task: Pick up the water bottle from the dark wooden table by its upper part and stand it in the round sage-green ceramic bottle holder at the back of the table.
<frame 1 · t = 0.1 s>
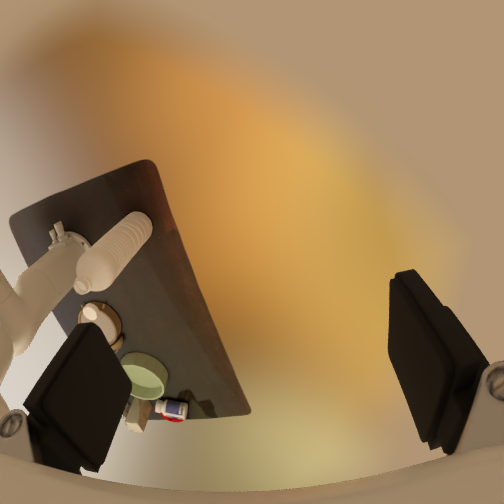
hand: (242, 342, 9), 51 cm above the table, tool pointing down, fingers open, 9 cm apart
pill bottle: (187, 411, 83), point 3 cm above the table
ornament: (185, 418, 88), on the table
holder: (144, 370, 80), on the table
box: (143, 400, 86), on the table
alarm clock: (104, 324, 74), on the table
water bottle: (140, 230, 63), on the table
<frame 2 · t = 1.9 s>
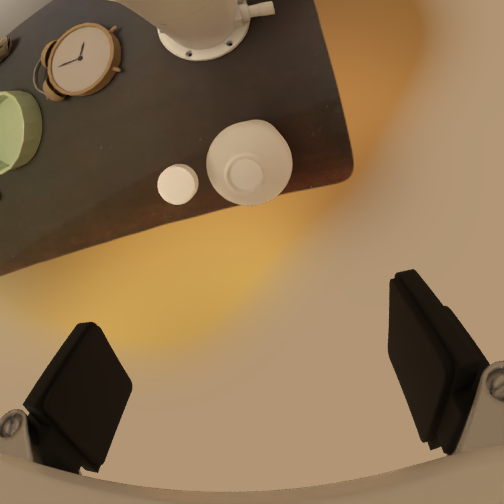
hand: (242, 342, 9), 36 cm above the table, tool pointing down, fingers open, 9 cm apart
holder: (15, 129, 40), on the table
alarm clock: (80, 64, 37), on the table
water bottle: (248, 143, 42), on the table
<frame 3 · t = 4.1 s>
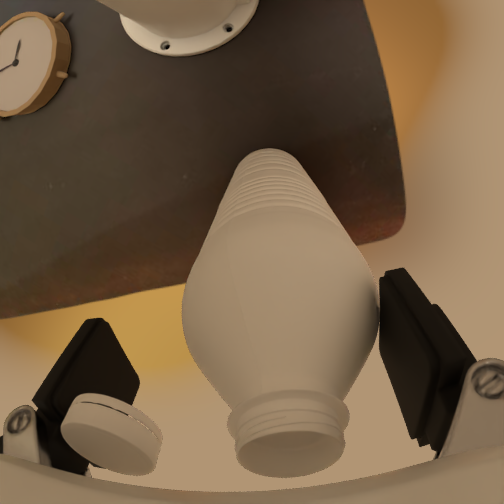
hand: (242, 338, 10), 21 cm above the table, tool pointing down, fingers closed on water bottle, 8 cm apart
alarm clock: (22, 70, 23), on the table
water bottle: (257, 184, 28), on the table, touching gripper
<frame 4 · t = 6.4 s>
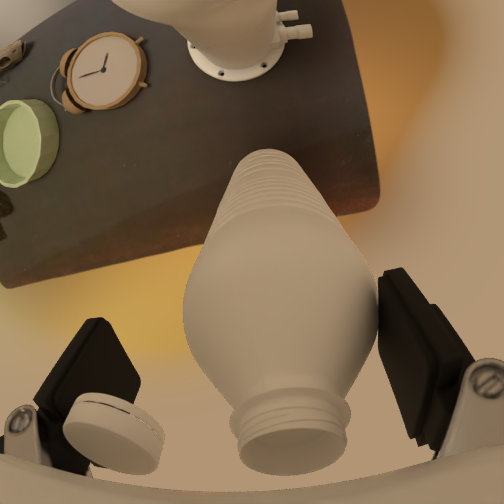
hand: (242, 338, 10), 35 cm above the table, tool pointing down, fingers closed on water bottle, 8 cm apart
holder: (29, 139, 40), on the table
alarm clock: (102, 75, 37), on the table
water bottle: (255, 184, 29), point 14 cm above the table, touching gripper
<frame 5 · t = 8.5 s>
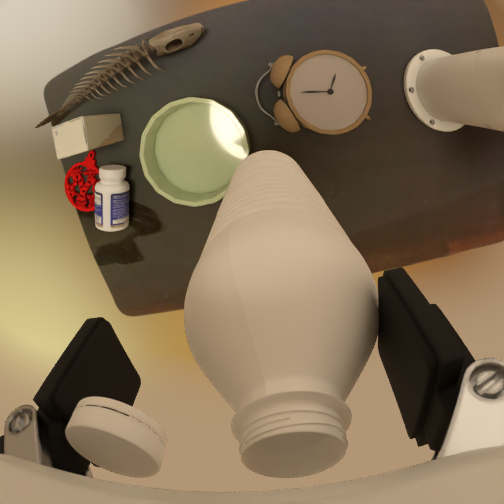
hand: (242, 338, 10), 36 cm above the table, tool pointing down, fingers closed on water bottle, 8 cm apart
pill bottle: (111, 226, 45), point 3 cm above the table
ornament: (80, 210, 46), on the table
holder: (199, 148, 42), on the table
fish skeleton: (120, 79, 38), on the table
box: (109, 129, 41), on the table
alarm clock: (311, 93, 38), on the table
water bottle: (256, 186, 29), point 15 cm above the table, touching gripper
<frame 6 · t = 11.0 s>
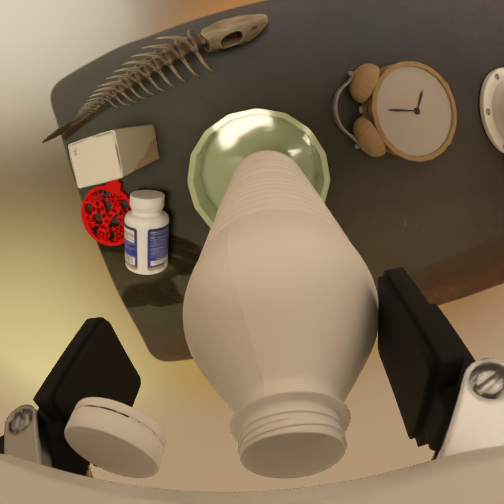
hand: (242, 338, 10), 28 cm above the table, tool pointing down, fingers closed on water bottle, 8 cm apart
pill bottle: (146, 266, 38), point 3 cm above the table
ornament: (102, 244, 39), on the table
holder: (259, 170, 35), on the table
fish skeleton: (153, 81, 31), on the table
box: (138, 145, 34), on the table
alarm clock: (390, 109, 31), on the table
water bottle: (255, 186, 29), point 7 cm above the table, touching gripper
when the fingers open (22 cm above the table, at t = 13.2 s): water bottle stays where it is, resting on holder.
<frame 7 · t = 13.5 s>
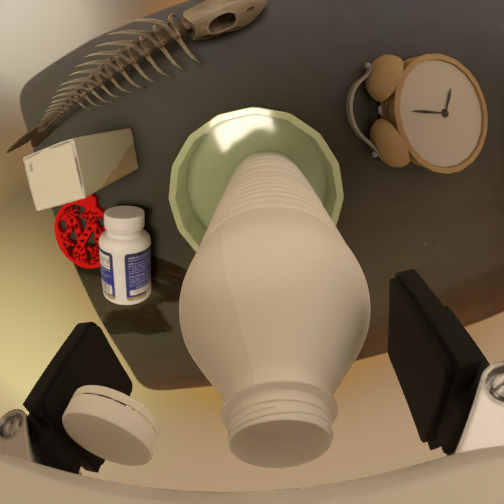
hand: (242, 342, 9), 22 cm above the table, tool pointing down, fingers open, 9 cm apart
pill bottle: (126, 293, 32), point 3 cm above the table
ornament: (79, 265, 33), on the table
holder: (256, 183, 29), on the table
fish skeleton: (131, 76, 25), on the table
box: (115, 152, 29), on the table
alarm clock: (412, 111, 26), on the table
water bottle: (255, 185, 29), point 1 cm above the table, touching gripper, holder
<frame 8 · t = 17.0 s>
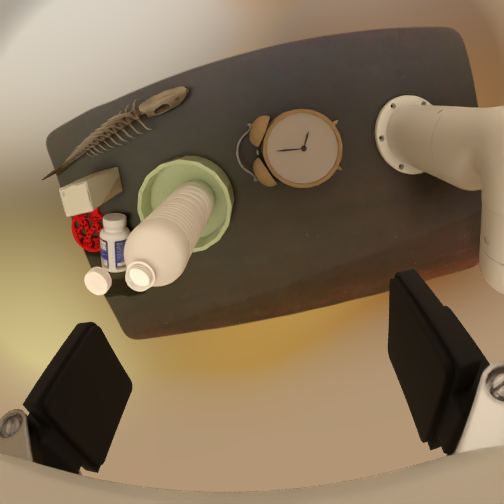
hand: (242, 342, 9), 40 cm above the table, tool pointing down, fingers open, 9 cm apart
pill bottle: (116, 266, 52), point 3 cm above the table
ornament: (87, 250, 53), on the table
holder: (190, 198, 49), on the table
fish skeleton: (116, 135, 45), on the table
box: (109, 181, 48), on the table
alarm clock: (288, 147, 45), on the table
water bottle: (188, 200, 49), point 1 cm above the table, touching holder
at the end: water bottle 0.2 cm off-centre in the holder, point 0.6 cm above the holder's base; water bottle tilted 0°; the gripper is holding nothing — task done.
